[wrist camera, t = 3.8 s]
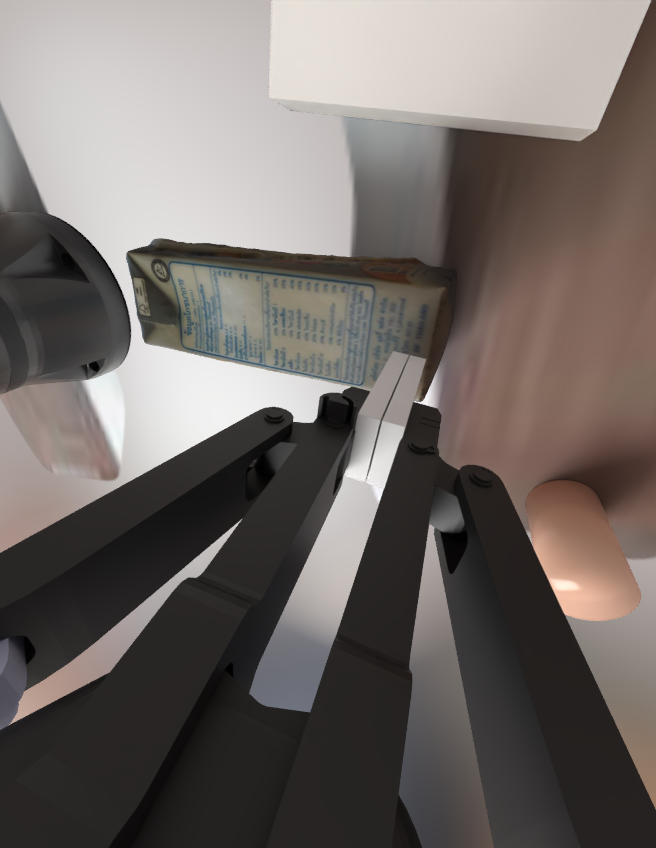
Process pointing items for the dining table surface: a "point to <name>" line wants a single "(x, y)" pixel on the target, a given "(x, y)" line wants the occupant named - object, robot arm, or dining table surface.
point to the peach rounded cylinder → (580, 552)
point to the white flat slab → (454, 61)
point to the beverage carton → (293, 309)
